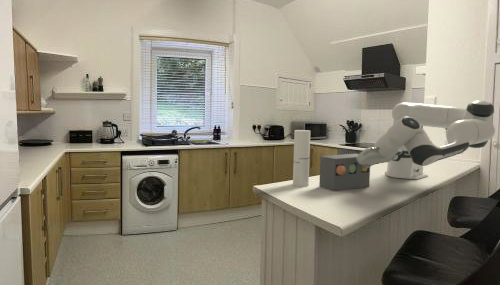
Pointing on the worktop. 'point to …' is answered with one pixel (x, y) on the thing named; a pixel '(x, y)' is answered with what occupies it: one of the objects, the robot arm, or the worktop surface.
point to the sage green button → (352, 168)
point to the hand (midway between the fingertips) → (365, 166)
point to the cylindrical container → (301, 158)
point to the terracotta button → (340, 170)
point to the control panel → (342, 181)
